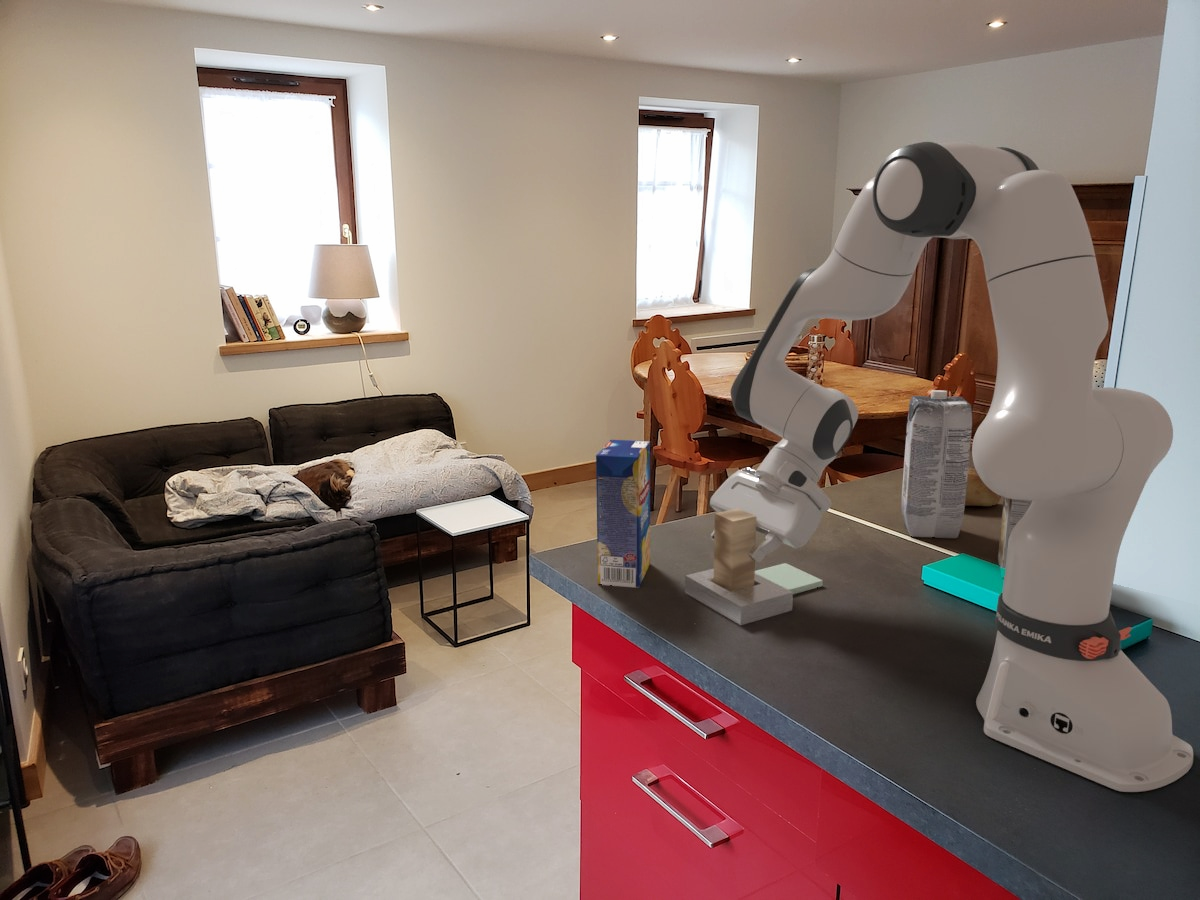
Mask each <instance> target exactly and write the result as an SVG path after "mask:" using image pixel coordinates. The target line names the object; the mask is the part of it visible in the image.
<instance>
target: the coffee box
mask: <svg viewBox="0 0 1200 900" xmlns="http://www.w3.org/2000/svg"><path fill="white" fill-rule="evenodd" d="M1032 501H1033V500H1019V499H1009V498H1005V497H1003V503H1002V504H1003V505H1002V512H1001V513H1002V514H1001V523H1000V532H999V544H998V553H997V561H998V566H999V565H1000V567H1002V568H1005V566H1006V556H1007V547H1008V539H1009V536H1010V534H1011V531H1012V530H1013V528H1014V526H1015V525H1016V524H1017V523H1018V521H1019V520H1020V519H1021V518H1022V517H1023V516H1024V514H1025V513H1026V511H1027V510H1028V508H1029V507H1030V505H1031V503H1032ZM1000 567H999V568H1000Z"/></svg>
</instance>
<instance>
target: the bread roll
mask: <svg viewBox="0 0 1200 900" xmlns="http://www.w3.org/2000/svg"><path fill="white" fill-rule="evenodd" d="M1001 499H1002V496H1000V495H998V494H996V493H995V492H993V491H992V490H990V489H989V488H988V487H987V486H986V485H985V484H984V483H983V481H982V480H981V478H980V477H979V475H978V473H977V471H976V469H975V468H971V467H970V468H969V467H968V477H967V487H966V498H965V506H975V507H976V506H978V507H993V506H994V505H995V506H996V505H997V504H998V503H999V502H1000V501H1001ZM992 505H993V506H992Z"/></svg>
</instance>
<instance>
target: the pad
mask: <svg viewBox="0 0 1200 900" xmlns="http://www.w3.org/2000/svg"><path fill="white" fill-rule="evenodd" d="M755 573H756V574H758V575H760V576H762V577H764V578H766V579H768V580H770V581H772V582H774V583H776V584H778V585H780V586H782V587H784V588H786V589H788V590H790V591H792V592H793V595H797V594H800V593H803V592H806V591H810V590H814V589H817V587H818V588H821V587H823V586H824V585H823V583H824V582H823V581H824V580H823V579H821V578H819V577H816V576H815V575H813V574H810V573H809V572H808V573H807V572H805V571H804V570H801V569H799V568H797V567H795V566H794V565H793V566H792V565H790V564H789V563H786V562H784V563H781V564H776V565H773V566H769V567H765V568H762V569H761V568H760V569H758V570H756V569H755Z"/></svg>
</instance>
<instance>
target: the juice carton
mask: <svg viewBox="0 0 1200 900" xmlns="http://www.w3.org/2000/svg"><path fill="white" fill-rule="evenodd" d="M973 409H974V408H973V405H972V404H971V403H970V402H968V401H967V400H966V399H964V398H963V397H962V396H958V395H957V396H948V390H940V389H939V390H936V389H933V390H930V396H922V395H912V396H911V397H910V400H909V405H908V414H907V420H906V434H905V446H904V448H905V449H904V461H903V472H902V473H903V475H902V487H901V500H900V502H901V503H900V504H901V507H900V509H901V510H900V511H901V516H902V521H903V524H904V527H905V528H907V529H906V530H907V532H908V535H909V537H911V536H912V538H932V537H935V539H937V538H938V539H958V537H959V534H960V531H961V528H962V525H963V521H964V517H965V516H964V515H965V507H966V505H965V498H966V487H967V477H968V468H969V464H970V453H971V445H972V444H971V443H972V430H973V429H972V428H973V417H972V416H973Z"/></svg>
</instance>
